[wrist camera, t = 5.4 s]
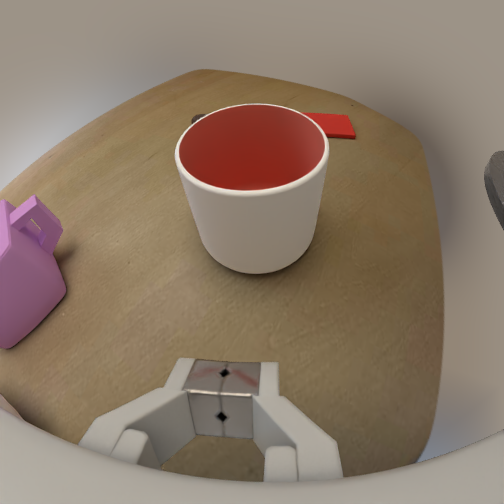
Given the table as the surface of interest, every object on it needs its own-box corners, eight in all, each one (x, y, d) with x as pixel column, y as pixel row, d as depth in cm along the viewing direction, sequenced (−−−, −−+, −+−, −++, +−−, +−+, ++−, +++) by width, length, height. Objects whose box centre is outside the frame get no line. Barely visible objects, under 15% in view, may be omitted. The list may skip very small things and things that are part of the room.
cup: (316, 281, 23) (341, 196, 15) (194, 278, 24) (156, 197, 15) (309, 190, 28) (319, 104, 20) (210, 190, 29) (191, 106, 20)
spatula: (347, 118, 35) (349, 106, 34) (355, 139, 33) (357, 126, 31) (196, 118, 37) (194, 107, 35) (189, 139, 34) (186, 126, 33)
